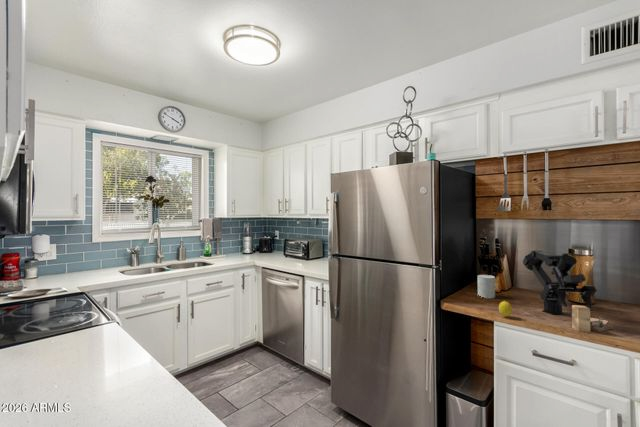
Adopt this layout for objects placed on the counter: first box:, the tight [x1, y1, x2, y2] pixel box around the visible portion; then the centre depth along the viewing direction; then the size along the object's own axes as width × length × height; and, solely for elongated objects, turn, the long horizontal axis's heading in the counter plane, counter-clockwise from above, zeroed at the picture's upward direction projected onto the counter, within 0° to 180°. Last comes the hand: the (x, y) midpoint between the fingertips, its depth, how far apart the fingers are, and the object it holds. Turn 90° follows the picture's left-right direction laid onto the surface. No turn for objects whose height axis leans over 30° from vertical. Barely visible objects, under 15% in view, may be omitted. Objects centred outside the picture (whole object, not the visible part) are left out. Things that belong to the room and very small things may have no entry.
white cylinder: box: [477, 274, 496, 299], centre depth 184 cm, size 10×10×12 cm
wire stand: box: [590, 317, 612, 332], centre depth 132 cm, size 5×10×4 cm, turn 112°
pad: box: [590, 316, 609, 325], centre depth 140 cm, size 7×7×1 cm
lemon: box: [498, 300, 513, 318], centre depth 147 cm, size 6×6×8 cm
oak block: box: [571, 304, 591, 333], centre depth 130 cm, size 4×4×10 cm
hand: (578, 307), depth 132 cm, fingers open, 9 cm apart
